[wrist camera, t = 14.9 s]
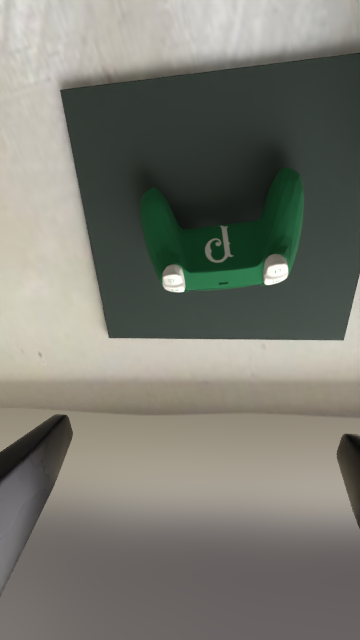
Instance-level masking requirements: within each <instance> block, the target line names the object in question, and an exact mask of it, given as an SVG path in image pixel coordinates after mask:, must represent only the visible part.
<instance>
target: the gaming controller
mask: <svg viewBox="0 0 360 640" xmlns="http://www.w3.org/2000/svg"><path fill="white" fill-rule="evenodd" d="M303 208H304V189H303V182H302V178H301V176H300V174H299V173H298V172H297V171H295V170H293V169H290V168H286V167H283V168H281V169H280V171H279V172H278V174H277V176H276V177H275V179H274V181H273V183H272V185H271V186H270V189H269V191H268V195H267V198H266V201H265V204H264V208H263V211H262V214H261V216H260V218H259V219H257V220H256V221H251V222H242V223H233V224H225V225H216V226H208V227H200V228H194V229H188V230H185V229H182V228H181V227H180V226H179V224H178V222H177V220H176V218H175V216H174V213H173V211H172V209H171V207H170V205H169V203H168V201H167V200H166V199H165V197H164V196H163V195H162V193H161V192H160V191H159V190H158V189H157V188H156V187H153V188H151V189H150V190H148V191H147V192H146V193H145V194H144V195H143V196H142V198H141V203H140V215H141V223H142V229H143V234H144V239H145V244H146V247H147V250H148V253H149V256H150V260H151V263H152V265H153V268H154V270H155V272H156V275H157V277H158V279H159V281H160V283H161V284H162V286H163V287H164V288H165V289H166V290H168V291H171V292H189V291H190V290H219V289H230V288H239V287H247V286H252V285H255V284H258V285H260V286H262V285H271V284H275V283H279V282H281V281H283V280H285V279H286V278H287V276H288V275H289V273H290V271H291V268H292V265H293V263H294V260H295V256H296V253H297V249H298V245H299V240H300V235H301V229H302V222H303Z"/></svg>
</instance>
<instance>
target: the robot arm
mask: <svg viewBox="0 0 360 640" xmlns="http://www.w3.org/2000/svg"><path fill="white" fill-rule="evenodd" d="M72 435H73V432H72V428H71V424H70V421H69V418H68V416H67V415H60V414H56V415H54V416H52V417H51V418H49V419H48V420H46V421H45V422H43V423H42V424H41V425H39V426H37V427H36V428H35V429H33V430H32V431H30V432H29V433H27V434H26V435H24V436H23V437H22V438H20V439H19V440H17V441H16V442H14V443H13V444H11V445H10V446H9V447H7V448H6V449H4V450H3V451H1V452H0V596H1V594H2V592H3V590H4V588H5V586H6V584H7V582H8V580H9V578H10V576H11V573H12V572H13V569H14V567H15V565H16V563H17V561H18V559H19V557H20V555H21V553H22V551H23V549H24V547H25V545H26V543H27V541H28V539H29V536H30V534H31V532H32V530H33V528H34V526H35V524H36V522H37V520H38V518H39V516H40V514H41V512H42V510H43V507H44V505H45V503H46V501H47V499H48V497H49V495H50V493H51V491H52V489H53V487H54V484H55V482H56V480H57V477H58V474H59V472H60V469H61V466H62V464H63V461H64V458H65V455H66V453H67V450H68V448H69V445H70V442H71V440H72ZM337 460H338V463H339V466H340V470H341V473H342V477H343V480H344V483H345V486H346V490H347V493H348V497H349V500H350V503H351V506H352V510H353V513H354V515H355V518H356V520H357V523H358V526H359V528H360V436H359V435H356V434H344V435H343V436H342V438H341V441H340V445H339V447H338V450H337Z"/></svg>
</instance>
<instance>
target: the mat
mask: <svg viewBox="0 0 360 640" xmlns="http://www.w3.org/2000/svg"><path fill="white" fill-rule="evenodd" d="M60 92H61V97H62V102H63V107H64V112H65V117H66V122H67V127H68V132H69V137H70V142H71V147H72V152H73V158H74V163H75V168H76V173H77V178H78V183H79V188H80V193H81V198H82V203H83V208H84V213H85V218H86V224H87V229H88V234H89V239H90V244H91V249H92V254H93V259H94V264H95V269H96V274H97V279H98V284H99V289H100V295H101V300H102V305H103V310H104V315H105V320H106V325H107V330H108V335H109V338H165V339H266V340H344V336H345V332H346V328H347V324H348V320H349V316H350V311H351V307H352V303H353V299H354V295H355V291H356V287H357V282H358V278H359V274H360V53H355V54H347V55H339V56H331V57H323V58H315V59H307V60H299V61H291V62H283V63H275V64H267V65H259V66H250V67H242V68H234V69H226V70H218V71H210V72H202V73H194V74H186V75H178V76H170V77H162V78H154V79H146V80H137V81H129V82H121V83H113V84H105V85H97V86H89V87H81V88H73V89H65V90H60ZM283 167H286V168H290V169H293V170H295V171H297V172H298V173H299V174H300V176H301V178H302V182H303V189H304V208H303V222H302V229H301V235H300V240H299V245H298V249H297V253H296V256H295V260H294V263H293V265H292V268H291V271H290V273H289V275H288V276H287V278H286V279H285V280H283V281H281V282H279V283H275V284H271V285H262V286H260V285H258V284H255V285H252V286H247V287H239V288H230V289H219V290H190V291H189V292H171V291H168V290H166V289H165V288H164V287H163V286H162V284H161V283H160V281H159V279H158V277H157V275H156V272H155V270H154V268H153V265H152V263H151V260H150V256H149V253H148V250H147V247H146V244H145V239H144V234H143V229H142V223H141V215H140V203H141V198H142V196H143V195H144V194H145V193H146V192H147V191H148V190H150V189H151V188H153V187H156V188H157V189H158V190H159V191H160V192H161V193H162V195H163V196H164V197H165V199H166V200H167V201H168V203H169V205H170V207H171V209H172V211H173V213H174V216H175V218H176V220H177V222H178V224H179V226H180V227H181V228H182V229H185V230H188V229H194V228H200V227H208V226H216V225H225V224H233V223H242V222H251V221H256V220H257V219H259V218H260V216H261V214H262V211H263V208H264V204H265V201H266V198H267V195H268V191H269V189H270V186H271V185H272V183H273V181H274V179H275V177H276V176H277V174H278V172H279V171H280V169H281V168H283Z"/></svg>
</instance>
